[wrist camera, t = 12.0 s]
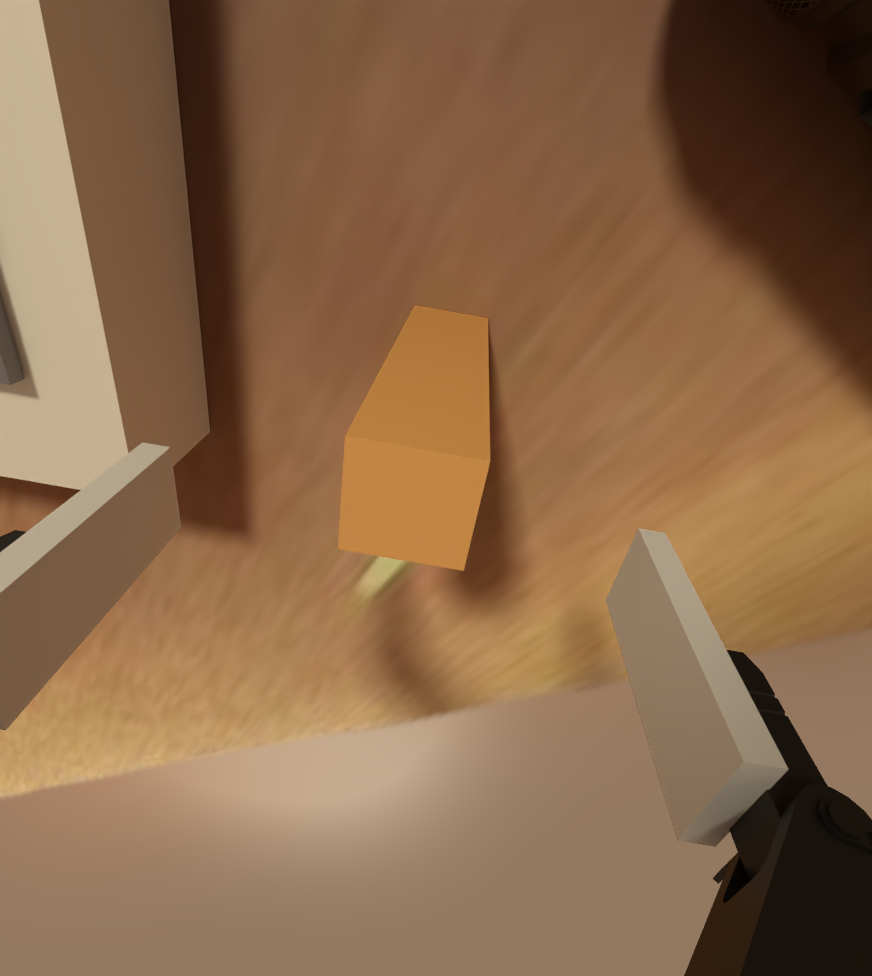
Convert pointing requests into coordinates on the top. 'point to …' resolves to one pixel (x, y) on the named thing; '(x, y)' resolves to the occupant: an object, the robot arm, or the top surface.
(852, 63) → the muzzle brake
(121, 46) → the socket block
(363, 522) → the plug peg
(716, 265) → the top surface
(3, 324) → the shutter
